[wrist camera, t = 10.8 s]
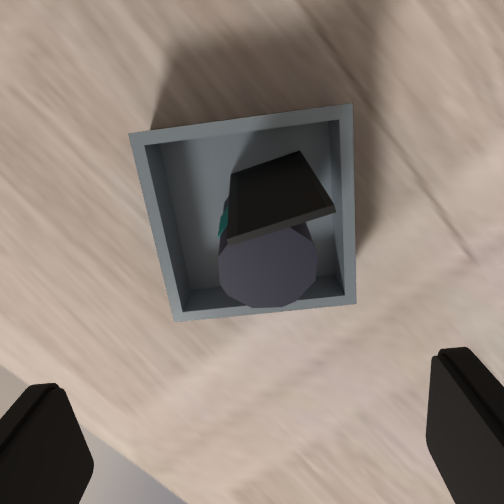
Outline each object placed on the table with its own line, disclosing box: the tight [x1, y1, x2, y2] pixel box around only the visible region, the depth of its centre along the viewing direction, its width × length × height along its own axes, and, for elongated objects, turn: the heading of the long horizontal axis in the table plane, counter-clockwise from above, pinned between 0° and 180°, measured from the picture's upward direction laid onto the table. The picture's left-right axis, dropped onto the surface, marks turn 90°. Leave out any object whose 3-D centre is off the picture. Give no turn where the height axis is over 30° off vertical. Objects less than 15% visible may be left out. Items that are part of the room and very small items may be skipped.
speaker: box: [218, 150, 336, 308], centre depth 22 cm, size 8×6×10 cm
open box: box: [128, 103, 356, 322], centre depth 25 cm, size 14×14×4 cm
